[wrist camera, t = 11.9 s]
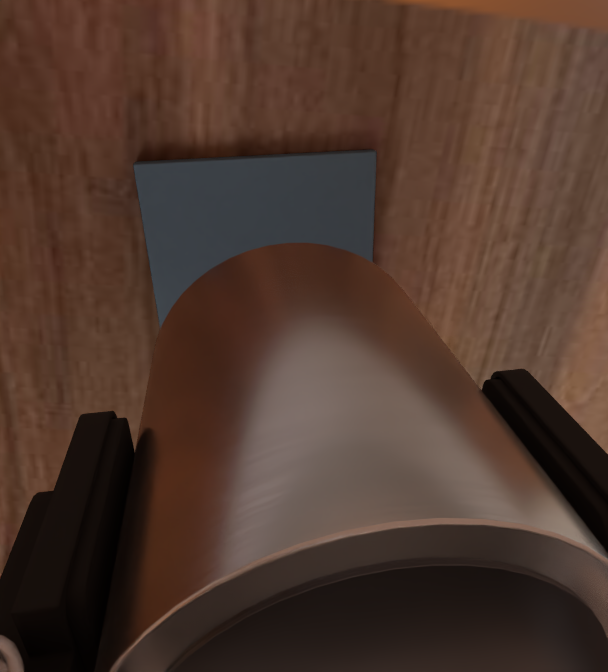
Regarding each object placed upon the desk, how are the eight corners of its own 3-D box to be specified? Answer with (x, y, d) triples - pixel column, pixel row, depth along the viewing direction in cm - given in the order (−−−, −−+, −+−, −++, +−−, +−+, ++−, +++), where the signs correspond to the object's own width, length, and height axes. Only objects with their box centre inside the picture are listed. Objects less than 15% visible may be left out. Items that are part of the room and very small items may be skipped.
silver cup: (129, 253, 12) (2, 584, 4) (434, 231, 12) (734, 484, 5) (172, 491, 15) (136, 906, 8) (414, 461, 15) (584, 815, 8)
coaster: (134, 161, 17) (132, 163, 17) (373, 149, 18) (377, 151, 18) (168, 371, 21) (168, 376, 20) (366, 351, 22) (369, 356, 21)
